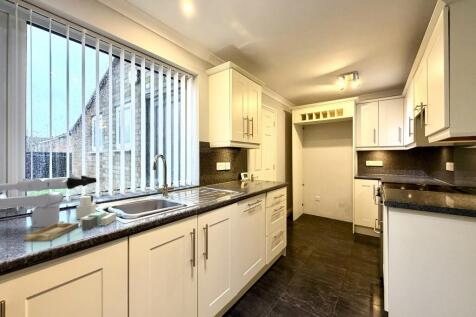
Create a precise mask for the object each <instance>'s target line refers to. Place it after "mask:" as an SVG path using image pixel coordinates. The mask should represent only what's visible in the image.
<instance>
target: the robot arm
mask: <svg viewBox="0 0 476 317" xmlns="http://www.w3.org/2000/svg"><path fill="white" fill-rule="evenodd" d="M97 182H98V180H97V178H96V177H90V176H87V175H81V176H80V177H77V176H75V174H73V173H72V174H69V176H63V177H61V176H59V177H52V178H51V177H49V178H48V177H44V178H38V177H35V178H31V179H29V178H22V179H20V180H18V181H17V182H12V183H10V182H9V183H8V182H7V183H0V209H3V208H16V207H29V206H30V207H31V206H32V207H35V208H34V209H33V211H32V212H31V213H32V214H31V215H32V216H31V225H30V227H31V228H45V227H47V226H50V225H52V224H55V223H65V220H60V206H61V204H62V202H63V201H64V194H63V193H62V192H61V191H59V190H62V189H63V190H65V189H68V190H72V189H76V188H77V187H80V186H81V187H86V186H89V185H90V184H94V183H97ZM12 190H13V191H16V190H17V191H18V192H21V193H23V192H24V193H25V192H36V191H37V192H41V191H46V190H58V191H52V192H48V193H41V194H36V195H25V196H24V195H23V196H9V197H7V194H6V192H7V191H12Z"/></svg>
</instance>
